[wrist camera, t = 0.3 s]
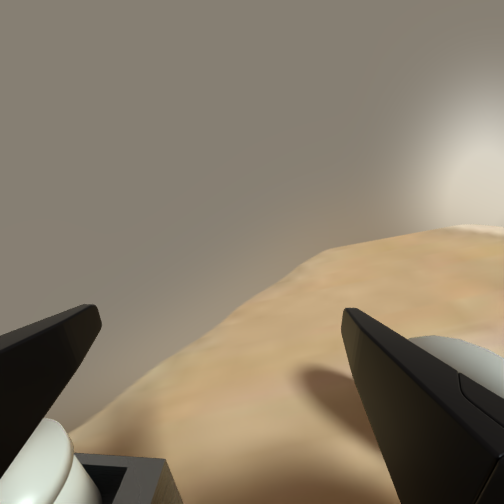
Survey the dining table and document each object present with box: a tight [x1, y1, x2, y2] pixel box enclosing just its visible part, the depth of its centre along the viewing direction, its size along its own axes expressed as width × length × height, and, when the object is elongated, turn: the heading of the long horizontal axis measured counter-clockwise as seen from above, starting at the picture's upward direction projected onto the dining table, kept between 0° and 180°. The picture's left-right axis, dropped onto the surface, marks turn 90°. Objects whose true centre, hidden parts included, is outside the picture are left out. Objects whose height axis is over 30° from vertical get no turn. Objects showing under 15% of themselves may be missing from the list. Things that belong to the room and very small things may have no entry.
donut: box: [408, 335, 504, 398], centre depth 17 cm, size 10×4×10 cm, turn 38°
